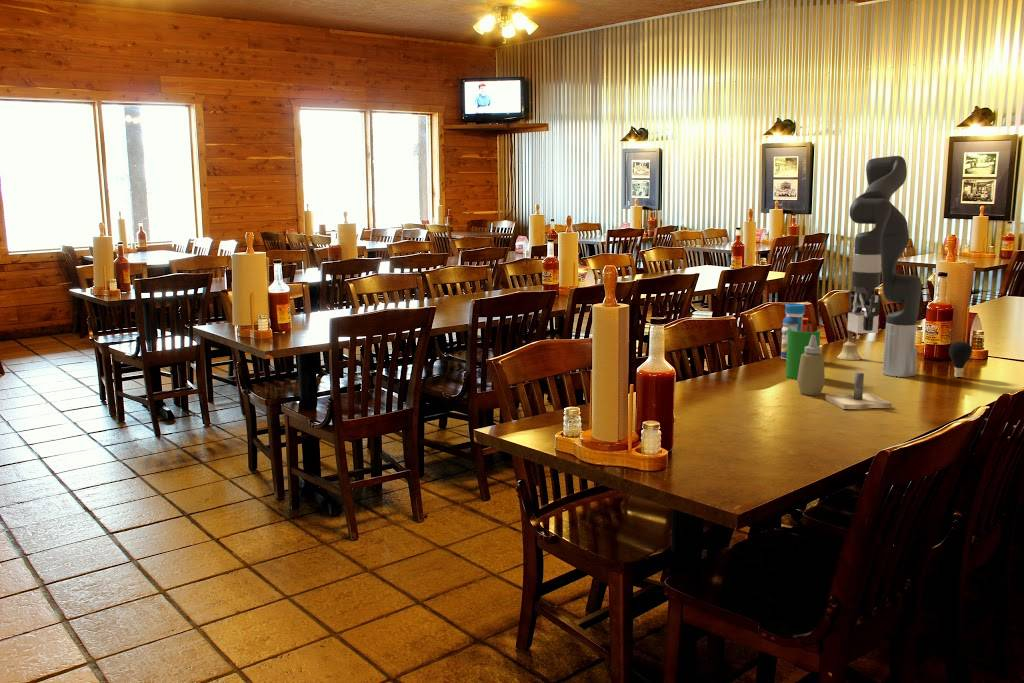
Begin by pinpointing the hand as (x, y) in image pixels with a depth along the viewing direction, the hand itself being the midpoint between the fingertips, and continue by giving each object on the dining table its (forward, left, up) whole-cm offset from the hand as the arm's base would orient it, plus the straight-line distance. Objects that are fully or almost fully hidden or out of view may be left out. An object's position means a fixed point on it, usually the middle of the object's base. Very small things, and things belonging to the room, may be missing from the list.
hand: (862, 328), depth 253 cm
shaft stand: (0, 0, -22) cm, 22 cm away
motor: (+1, -36, -22) cm, 42 cm away
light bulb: (-49, -29, -22) cm, 61 cm away
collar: (0, 0, -1) cm, 1 cm away
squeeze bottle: (+8, -14, -22) cm, 28 cm away
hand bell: (-29, -64, -22) cm, 74 cm away
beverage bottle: (-8, -65, -22) cm, 69 cm away
